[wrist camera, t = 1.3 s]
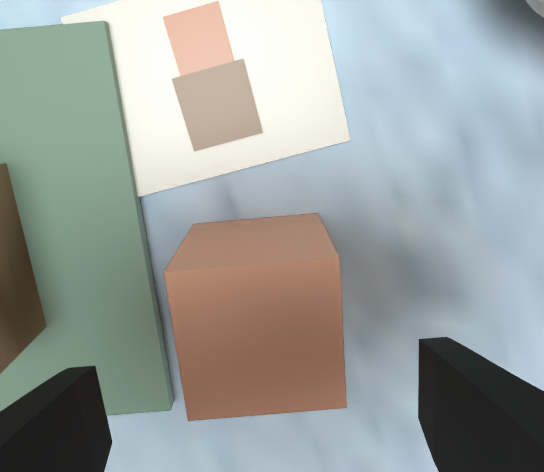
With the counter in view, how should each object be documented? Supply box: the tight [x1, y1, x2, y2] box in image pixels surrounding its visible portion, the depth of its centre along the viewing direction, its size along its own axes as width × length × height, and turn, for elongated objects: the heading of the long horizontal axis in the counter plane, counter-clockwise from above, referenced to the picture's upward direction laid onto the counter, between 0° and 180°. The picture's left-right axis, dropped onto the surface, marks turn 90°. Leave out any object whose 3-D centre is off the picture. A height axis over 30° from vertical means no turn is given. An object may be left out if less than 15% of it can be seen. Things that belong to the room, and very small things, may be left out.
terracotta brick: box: [164, 213, 347, 421], centre depth 15 cm, size 4×4×5 cm
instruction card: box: [60, 0, 350, 197], centre depth 15 cm, size 6×8×1 cm
